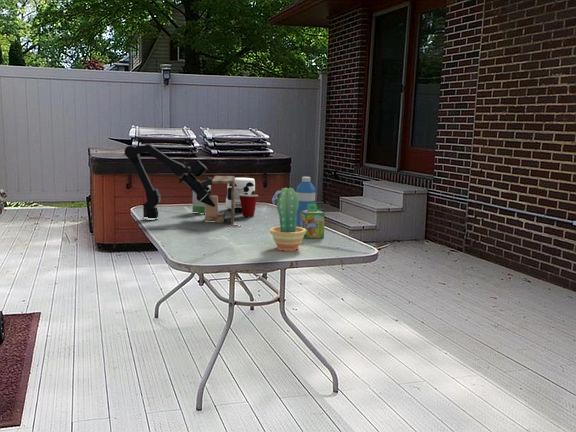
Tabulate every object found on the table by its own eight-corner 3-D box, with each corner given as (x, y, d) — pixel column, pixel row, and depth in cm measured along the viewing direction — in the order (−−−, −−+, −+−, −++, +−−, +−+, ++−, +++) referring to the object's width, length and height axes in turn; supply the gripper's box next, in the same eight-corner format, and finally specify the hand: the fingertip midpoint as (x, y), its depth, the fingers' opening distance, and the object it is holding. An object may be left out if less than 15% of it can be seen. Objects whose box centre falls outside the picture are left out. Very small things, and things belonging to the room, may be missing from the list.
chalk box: (305, 238, 261) (305, 206, 258) (299, 234, 270) (299, 202, 267) (324, 238, 263) (325, 205, 261) (318, 234, 272) (319, 202, 270)
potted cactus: (285, 242, 252) (286, 184, 248) (313, 248, 243) (315, 188, 238) (261, 248, 240) (261, 187, 236) (290, 254, 231) (291, 191, 226)
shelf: (203, 224, 290) (203, 180, 286) (207, 216, 313) (207, 175, 310) (233, 224, 291) (233, 181, 287) (234, 216, 314) (234, 176, 311)
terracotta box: (205, 221, 299) (205, 196, 297) (206, 219, 304) (206, 195, 302) (217, 221, 299) (217, 197, 297) (217, 219, 305) (217, 195, 302)
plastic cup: (259, 215, 320) (260, 193, 318) (256, 218, 310) (257, 195, 308) (240, 214, 321) (240, 192, 319) (236, 217, 311) (236, 195, 309)
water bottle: (313, 230, 280) (314, 178, 275) (293, 229, 281) (294, 177, 277) (316, 227, 289) (317, 176, 284) (297, 226, 290) (298, 175, 286)
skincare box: (192, 213, 321) (191, 185, 318) (197, 211, 327) (197, 184, 324) (206, 214, 318) (205, 186, 316) (211, 212, 324) (211, 184, 322)
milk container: (246, 207, 347) (246, 176, 344) (261, 211, 333) (262, 179, 330) (220, 209, 337) (220, 178, 334) (235, 213, 323) (235, 181, 320)
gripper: (203, 174, 288) (225, 196, 291) (205, 170, 306) (227, 191, 309) (187, 189, 289) (209, 212, 291) (190, 185, 307) (212, 206, 310)
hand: (215, 204), depth 300 cm, fingers open, 9 cm apart
